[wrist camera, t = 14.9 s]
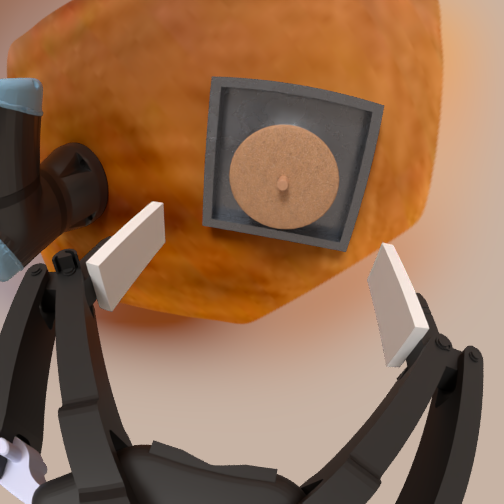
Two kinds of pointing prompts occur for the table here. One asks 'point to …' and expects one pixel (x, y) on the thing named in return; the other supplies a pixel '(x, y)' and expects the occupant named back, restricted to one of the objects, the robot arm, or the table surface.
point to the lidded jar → (284, 176)
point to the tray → (299, 114)
